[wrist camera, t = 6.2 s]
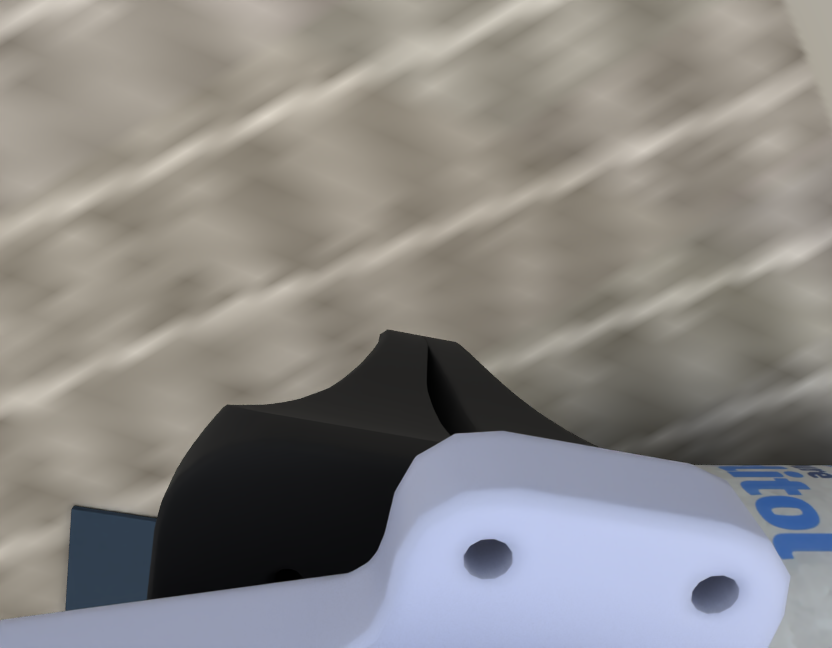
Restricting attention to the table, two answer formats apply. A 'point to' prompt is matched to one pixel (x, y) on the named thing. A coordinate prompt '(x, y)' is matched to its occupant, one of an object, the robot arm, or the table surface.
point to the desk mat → (108, 558)
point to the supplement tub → (793, 540)
